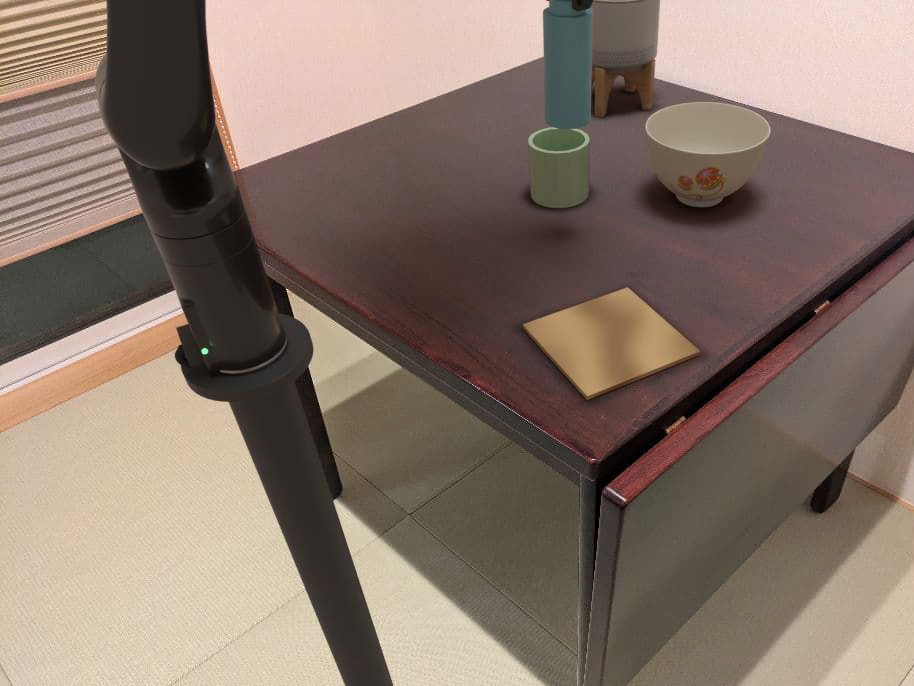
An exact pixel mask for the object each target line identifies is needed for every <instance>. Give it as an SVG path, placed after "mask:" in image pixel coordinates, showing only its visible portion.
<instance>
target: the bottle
mask: <svg viewBox="0 0 914 686" xmlns="http://www.w3.org/2000/svg"><path fill="white" fill-rule="evenodd" d="M592 23H593V11H592V9H591V8H589V9H586V10H583V11H576V10H574V9H573V8H572V0H549V1H548V7H546V8H544V9H543V10H542V37H543V38H542V39H543V43H542V44H543V87H544V88H543V89H544V92H543V93H544V122H545V123H546V124H547V125H548V126H549V127H554V128H558V129H580V128H584V127H586V126H587V125H589V124H590V123H591V120H592V88H591V78H592Z"/></svg>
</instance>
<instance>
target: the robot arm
mask: <svg viewBox="0 0 914 686" xmlns="http://www.w3.org/2000/svg"><path fill="white" fill-rule="evenodd" d="M545 1H546V2H549V0H545ZM105 2H106V52H105V53H104V55H103V57H102V58H101V59H100V61H99V63H98V65H97V68H96V72H95V77H94V78H95V79H94V90H95V95H96V100H97V104H98V108H99V113H100V117H101V118H100V119H101V121H102V123H103V126H104V128H105V130H106V132H107V133H108V135H109V136H110V138H111V140H112V141H113V142H114V144H115V146H116V147H117V150H118V152H119V154H120V157H121V159H122V161H123V164H124V166H125V169H126V172H127V174H128V176H129V180H130V183H131V185H132V186H131V187H132V189H133V191H134V193H135V196H136V199H137V202H138V204H139V207H140V210H141V212H142V215H143V217H144V219H145V221H146V224H147V226H148V229H149V230H150V233H151V235H152V238H153V240H154V242H155V245H156V247H157V250H158V252H159V254H160V257H161V260H162V262H163V264H164V267H165V269H166V272H167V274H168V276H169V278H170V281H171V284H172V286H173V288H174V291H175V293H176V296H177V299H178V301H179V304H180V307H181V310H182V312H183V314H184V316H185V319H186V321H187V324H186V323H185V324H184V325H180V326H177V327H175V329H176V332H177V336H178V339H179V341H180V344H179V345H178V347H177V348H176V350H175V352H174V359H175V361H176V363H178V365H180V366H181V365H182V366H184V367H186V368H188V369H190V368H191V367H192V366H195V365H198V364H201V363H205V365H206V367H207V369H208V372H209V374H210V377H216V376H220V375H226V376H240V375H247V374H251V373H254V372H257V371H260V370H263V369H265V368H267V367H269V366H270V365H272V364H273V363H275V362H276V361H277V360H279V359H280V358H281V357H282V355H283V354H284V353H285V351H286V349H287V346H288V338H287V335H286V332H285V331H284V327H283V324H282V322H281V319H280V316H279V309H278V307H277V304H276V301H275V298H274V294H273V291H272V288H271V285H270V281H269V279H268V275H267V272H266V269H265V266H264V263H263V260H262V257H261V253H260V251H259V247H258V244H257V241H256V238H255V235H254V231H253V228H252V225H251V223H250V219H249V216H248V213H247V210H246V207H245V204H244V202H243V201H244V200H243V197H242V194H241V191H240V187H239V184H238V182H237V178H236V176H235V174H234V172H233V168H232V165H231V163H230V160H229V157H228V155H227V152H226V150H225V146H224V144H223V141H222V138H221V135H220V131H219V128H218V125H217V114H216V105H215V98H214V91H213V83H212V82H213V81H212V74H211V64H210V53H209V42H208V40H209V39H208V31H207V0H106V1H105ZM592 3H593V0H572V8H573V9H574V10H576V11H583V10H586V9H589V8H590V7H591V5H592ZM184 355H186V357H187V358H186V357H185V356H184Z"/></svg>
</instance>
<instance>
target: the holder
mask: <svg viewBox="0 0 914 686" xmlns="http://www.w3.org/2000/svg"><path fill="white" fill-rule="evenodd" d="M527 148H528V149H527V150H528V151H527V152H528V171H529V172H528V173H529V190H530V197H531V200H532V201H533V202H534V203H536V204H537V205H539V206H542V207H544V208H550V209H567V208H571V207H575V206H579V205H580V204H582V203H584V202H586V200H587V199H588V198H589V195H590V187H591V186H590V183H591V182H590V181H591V180H590V179H591V178H590V177H591V176H590V175H591V173H590V171H591V169H590V167H591V166H590V165H591V163H590V162H591V140H590V136H589V134H587V133H586V132H585V131H583V130H582V129H580V128H576V129H558V128H554V127H551V126H549V127H546V128H542V129H539V130H537V131H535V132H533V133H531V134H530V136H529V137H528V138H527Z"/></svg>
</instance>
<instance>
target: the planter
mask: <svg viewBox="0 0 914 686" xmlns="http://www.w3.org/2000/svg"><path fill="white" fill-rule="evenodd" d="M590 8H591V9H592V11H593V23H592V78H591V89H592V88H593V85H594V117H599V118H604V117H605V116H606V115H607V107H608V101H609V97H610V93H611V90H612V87H613V86H614V83H615V81H616V80H617V78H618V77H619V76H620V77H622V78H623V81H624V91H625V92H629V93H634V92H635V91H636V90H637V92H638V94H639V97H640V101H641V110H645V111H651V109H653V105H654V91H655V90H654V89H655V73H656V57H657V56H658V47H659V46H658V45H659V29H660V12H661V0H593V3H592V5H591V7H590Z"/></svg>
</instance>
